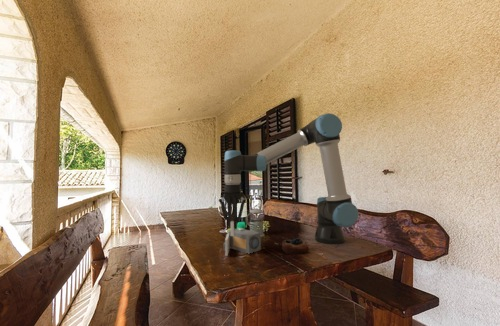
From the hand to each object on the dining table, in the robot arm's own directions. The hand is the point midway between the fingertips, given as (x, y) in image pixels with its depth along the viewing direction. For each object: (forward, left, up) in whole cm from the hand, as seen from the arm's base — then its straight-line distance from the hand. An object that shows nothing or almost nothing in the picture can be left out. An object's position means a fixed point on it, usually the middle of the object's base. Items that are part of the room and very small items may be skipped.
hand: (232, 235), depth 111 cm
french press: (+16, -31, -8) cm, 36 cm away
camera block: (+1, -8, -8) cm, 11 cm away
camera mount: (+11, -19, -9) cm, 23 cm away
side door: (+3, +1, -8) cm, 8 cm away
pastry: (-19, -22, -9) cm, 30 cm away
